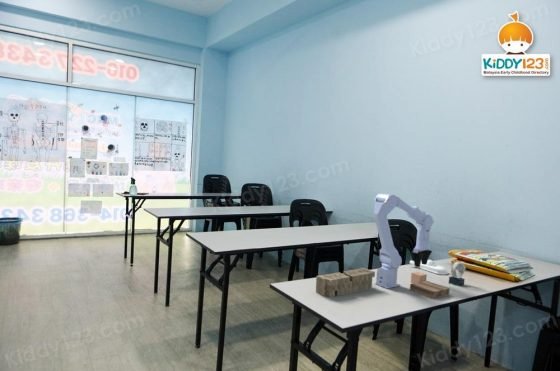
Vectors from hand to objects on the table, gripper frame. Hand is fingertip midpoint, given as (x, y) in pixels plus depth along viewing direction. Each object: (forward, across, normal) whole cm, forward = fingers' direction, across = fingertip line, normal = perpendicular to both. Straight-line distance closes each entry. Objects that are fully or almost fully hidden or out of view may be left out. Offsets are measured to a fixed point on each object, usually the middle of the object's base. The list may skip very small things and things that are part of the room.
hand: (420, 265), depth 190 cm
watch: (+9, +14, -13) cm, 21 cm away
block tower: (+9, -41, +16) cm, 45 cm away
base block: (+9, -11, -10) cm, 17 cm away
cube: (+9, -2, -1) cm, 9 cm away
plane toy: (+9, +28, +7) cm, 30 cm away
